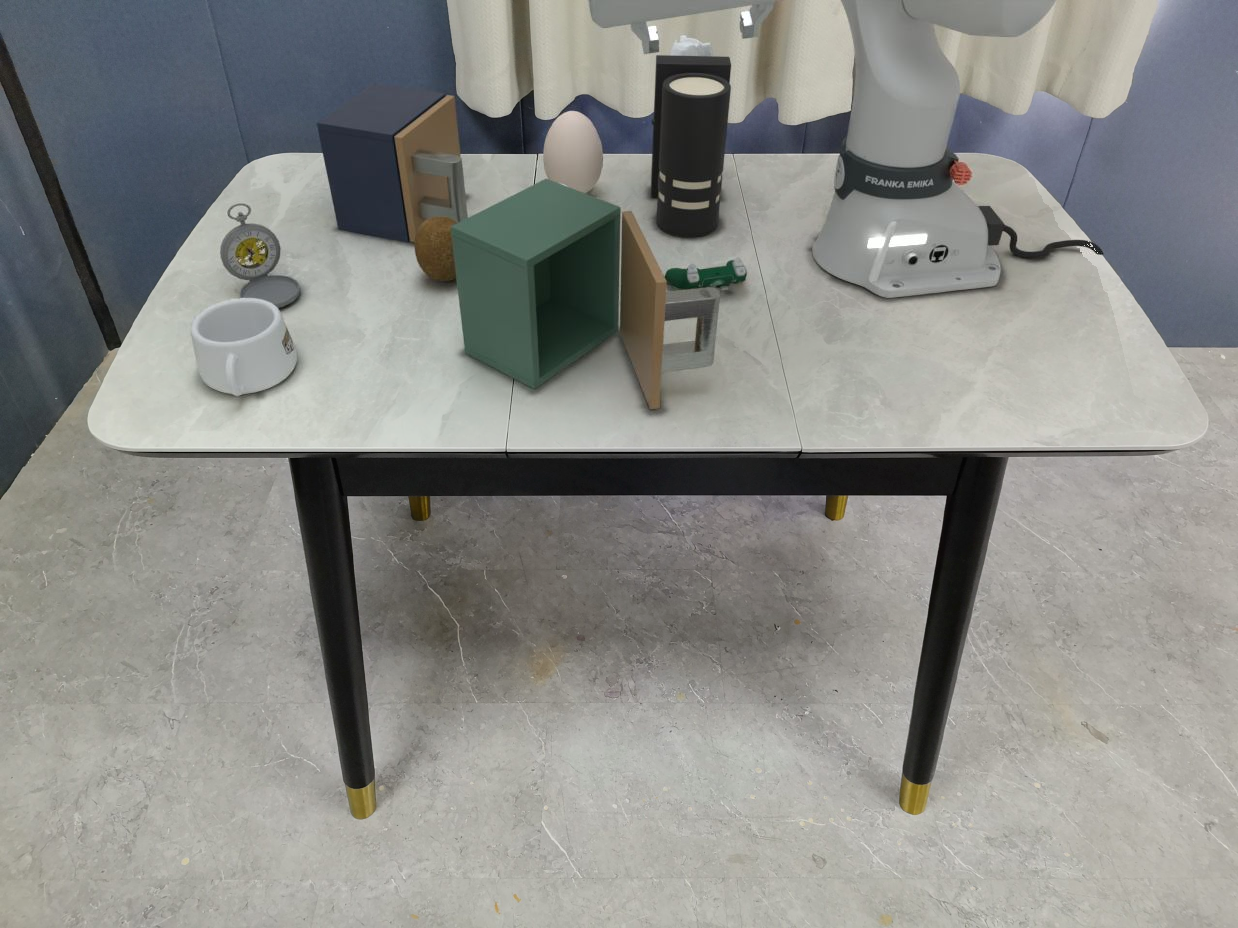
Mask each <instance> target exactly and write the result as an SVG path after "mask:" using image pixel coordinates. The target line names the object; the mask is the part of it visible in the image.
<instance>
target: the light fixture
mask: <svg viewBox="0 0 1238 928" xmlns="http://www.w3.org/2000/svg"><path fill="white" fill-rule="evenodd" d="M731 72H732V61H731V58H730V56H717V55H716V56H715V55H713V56H671V55H668V54H667V55H665V54H664V55H662V54H656V56H655V77H654V99H653V118H652V119H651V125H652V126H653V127H652V146H651V147H652V149H651V172H650V173H651V174H650V198H651V199H656V218H655V221H656V225H657V227H658V228H659V229H660V230H661V231H662V232H664V233H666V234H668V235H671V236H676V237H681V238H700V237H704V236H707V235H709V234H711V233H713V232H715V230H716V229H717V228H718V225H719V216H720V208H721V207H720V206H721V192H722V187H723V185H722V184H723V172H724V164H725V153H726V144H727V134H728V123H729V114H730V113H729V112H730V103H731V92H732V91H731V90H732V85H731V75H732V73H731Z"/></svg>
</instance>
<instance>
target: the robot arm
mask: <svg viewBox="0 0 1238 928" xmlns="http://www.w3.org/2000/svg"><path fill="white" fill-rule="evenodd" d="M781 1H783V0H588V7H589V13H590V17H591V21H592V22H593V23H595V25H597V26H598V27H600V28H601V29H611V28H615V27H620V26H627V25H630V30H631V32H632V33H633V34H634V35H635V36H636V37H637V38H638V39H639V40H640V41H641V46H642V52H643V55H648V54H656V53H659V52H660V37H659V34H658V28H657V25H647V22H654V21H660V20H665V19H673V18H678V17H679V18H680V17H685V16H686V17H687V16H692V15H699V14H706V13H712V12H718V11H725V10H730V9H737V8H744V7H750V8H749V9H748V10H746V11H741V12H740V15H739V20H740V21H739V31H740V33H741V39H743V40H745V39H752V38H758V37H759V34H760V24H762V23H763V22H764V20H765V19H766V18H767V17H768V16H769V15H770V13H771V12H772V11H773V10H774V5H775V3H776V2H781ZM1056 1H1057V0H840V2H841V4H842V7H843V9H844V11H845V15H846V18H847V21H848V25H849V28H850V34H851V37H852V44H853V49H854V50H853V52H854V59H855V61H854V62H855V78H854V79H855V81H854V89H853V96H852V104H851V109H850V117H849V123H848V128H847V135H846V136H845V137H844V139H843V140H842V142H841V147H840V150H839V155H838V157H837V160H836V167H835V173H834V179H833V188H834V193H833V196H832V200H831V203H830V205H829V209H828V212H827V215H826V218H825V220H824V223H823V225H822V228H821V230H820V232H819V234H818V236H817V238H816V240H815V242H814V243H813V246H812V256H813V258H814V261H815V262H816V263H817V264H818V265H819V266H820V267H821V268H822V269H823V270H824V271H825V272H827V273H829V274H830V275H832V276H834V277H835V278H838V279H840V280H843V281H846V282H847V283H848V282H849V283H852V284H854V285H857V286H861V287H863V288H865V289H867V290H868V291H870V292H872V293H873V294H875V295H877V296H879V297H881V298H884V299H885V298H887V299H893V298H902V297H903V298H904V297H910V296H920V295H929V294H938V293H945V292H955V291H964V290H971V289H972V290H973V289H981V288H989V287H995V286H997V284H998V282H999V281H1000V275H1001V272H1002V269H1001V268H1002V267H1001V263H1000V259H999V258H998V256H997V254H996V252H995V250H994V249H993V247H992V246H999V244H1000V241H1001V238H1002V235H1003V233H1006V234H1007V235H1008V236H1009V237H1010V239H1009V245H1008V246H1009V250H1010V252H1011V253H1012V254H1013V255H1014V256H1016V257H1019V258H1022V259H1038V258H1039V259H1040V258H1045V256H1048V255H1049V253H1050V252H1051V250H1054V249H1060V248H1068V247H1082V248H1087V249H1089V250H1091V251H1092V252H1093V253H1095V254H1096V255H1098V256H1103V255H1104V254H1105V253H1104V251H1103V250H1102V248H1101V247H1100V246H1099V245H1098V244H1096V243H1095V242H1093V241H1089V240H1085V239H1067V240H1066V239H1065V240H1061V241H1054V242H1050V243H1047V244H1046V245H1045V246H1044V248H1043V249H1042V250H1037V251H1026V250H1021V249H1020V248H1018V247H1017V244H1018V234H1017V232H1016V231H1015V229H1013V228H1012V227H1011V226H1009V225H1007V224H1005V223H1004V221H1003V220H1002V219H1001V218H1000V216H999V215H998V214H997V213H996V212H995V210H994V209H993V208H992V207H991V205H977V204H976V202H975V201H974V200H973V199H972V198H971V197H970V196H969V195H968V194H967V193H966V192H965V191H964V190H963V189H962V188H961V187H960V186H964V185H966V184H968V182H970V181H971V178H972V177H973V171H971V169H970V168H969V167H968V165H967V163H966V162H964V161H959V160H960V159H959V157H958V156H957V154H956V153H955V152H953V150H951V149H949V148H948V147H947V145H948V142H949V138H950V134H951V131H952V127H953V123H954V119H955V115H956V111H957V108H958V104H959V100H960V97H961V83H960V82H961V81H960V77H959V75H958V74H959V73H958V71H957V70H956V68H955V67H954V65H953V64H952V63H951V61H950V60H949V59H948V58H947V56H946V55H945V53H944V52H943V50H942V48H941V46H940V44H939V41H938V38H937V34H936V29H935V25H936V26H939V27H941V28H944V29H948V30H952V31H955V32H958V33H961V34H965V35H968V36H978V37H994V38H996V37H997V38H1017V37H1019V36H1022V35H1024V34H1025V33H1026V32H1028V31H1030V30H1031V29H1033V28H1034V27H1035V26H1037V24H1039V23H1040V22H1041V21H1042V20H1043V19H1044V18H1045V17H1046V15H1047V14H1048V13H1049V12H1050V11H1051V9H1052V8H1053V6H1054V5H1055V3H1056ZM1088 241H1089V242H1088ZM1090 243H1091V244H1092V245H1093V247H1090V246H1091V245H1090ZM1087 244H1088V245H1089V246H1088V245H1087ZM1084 245H1085V246H1084ZM1094 248H1095V250H1096V251H1095V250H1094ZM1097 252H1098V253H1097Z"/></svg>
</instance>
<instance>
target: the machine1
mask: <svg viewBox="0 0 1238 928" xmlns="http://www.w3.org/2000/svg"><path fill="white" fill-rule="evenodd" d="M446 96H447V95H446V93H444V92H438V91H432V90H425V89H418V88H411V87H404V86H397V85H391V84H383V83H377V82H375V83H373V84H372V85H370V86H369V87H366V89H364V90H362V91H361V92H360V93H358V94H357V95H356V96H354V97H352V98H351V99H350V100H348V101H346V102H345V103H344V104H342V105H341V106H339V107H337V108H336V109H335V110H333V111H332V112H330V113H329V114H327V115H326V116H325V117H323V118H321V119H320V120H319V121H317V122H316V127H317V133H318V138H319V142H320V148H321V151H322V156H323V163H324V165H325V166H324V167H325V172H326V176H327V181H328V186H329V191H330V195H331V200H332V205H333V210H334V215H335V219H336V224H337V229H338V230H341V231H345V232H350V233H351V232H352V233H356V234H360V235H361V234H362V235H368V236H372V237H378V238H383V239H387V240H393V241H398V242H403V243H409V242H410V238H409V231H408V224H407V218H406V211H405V204H404V198H403V191H402V184H401V178H400V171H399V164H398V158H397V151H396V144H395V138H394V137H395V136H396V135H397V134H398V133H400V132H401V131H402V130H404V129H405V128H406V127H407V126H409V125H410V124H411V123H412V122H414V121H415V120H416V119H418V118H419V117H420V116H421V115H423V114H424V113H425V112H427V111H428V110H429V109H430V108H432V107H433V106H434V105H435V104H437V103H438V102H439V101H441V100H442V99H443V98H444V97H446Z"/></svg>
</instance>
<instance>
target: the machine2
mask: <svg viewBox="0 0 1238 928" xmlns="http://www.w3.org/2000/svg"><path fill="white" fill-rule="evenodd" d="M621 208H622V207H621V206H619V205H616V204H613V203H611V202H608V201H605V200H604V199H601V198H598V197H595V196H593V195H590V194H588V193H586V194H585V193H583V192H580V191H577V190H575V189H572V188H570V187H567V186H564V185H562V184H559V183H557V182H554V181H551V180H549V179H548V178H544V179H542V180H540V181H538V182H536V183H534V184H533V185H530V186H528V187H527V188H525V189H522V190H521V191H519V192H517V193H515V194H513V195H509V197H507V198H505V199H503V200H501V201H499V202H497V203H495V204H493V205H490V206H488V207H487V208H485V209H483V210H481V211H478V212H476V213H475V214H472V215H470V216H469V217H468V218H467V219H465V220H463V221H461V222H459V223H457V224H455V225H453V226H451V235H452V244H453V253H454V261H455V270H456V278H455V279H456V286H457V295H458V304H459V310H460V311H459V313H460V321H461V330H462V337H463V346H464V347H463V348H464V353H465V354H466V355H468V356H469V357H471V358H474V359H475V360H477V361H480V362H481V363H483V364H485V365H487V366H489V367H491V368H493V369H494V370H497V371H498V372H500V373H502V374H504V375H506V376H508V377H510V378H512V379H514V380H515V381H517V382H519V383H521V384H523V385H525V386H527V387H529V388H531V389H533V390H535V389H537V388H539V387H540V386H541V385H543V384H544V383H546V382H548V381H549V380H550V379H551V378H553V377H554V376H556V375H558V374H559V373H561V371H563V370H564V369H566V368H567V367H569V366H570V365H571V364H573V363H574V362H576V361H577V360H579V359H580V358H582V357H583V356H585V355H586V354H588V353H590V351H592V350H593V349H594V348H596V347H597V346H599V345H600V344H602V343H604V342H605V341H606V340H607V339H609V338H610V337H612V336H613V335H615V334H616V333H617V332H619V323H620V270H621V216H622V212H621V211H622V209H621Z"/></svg>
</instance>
